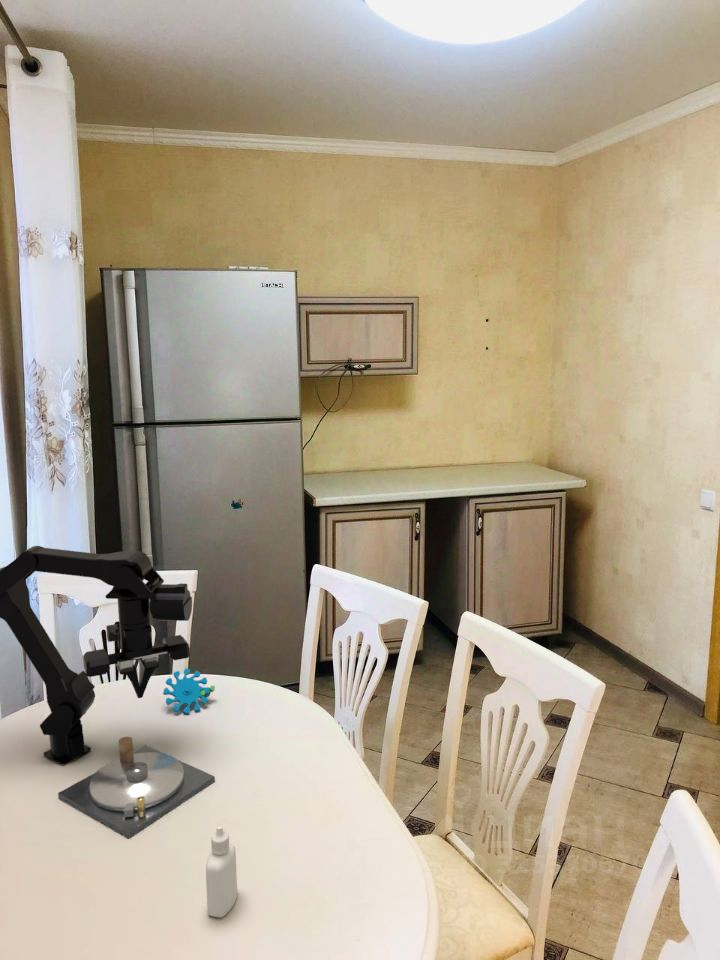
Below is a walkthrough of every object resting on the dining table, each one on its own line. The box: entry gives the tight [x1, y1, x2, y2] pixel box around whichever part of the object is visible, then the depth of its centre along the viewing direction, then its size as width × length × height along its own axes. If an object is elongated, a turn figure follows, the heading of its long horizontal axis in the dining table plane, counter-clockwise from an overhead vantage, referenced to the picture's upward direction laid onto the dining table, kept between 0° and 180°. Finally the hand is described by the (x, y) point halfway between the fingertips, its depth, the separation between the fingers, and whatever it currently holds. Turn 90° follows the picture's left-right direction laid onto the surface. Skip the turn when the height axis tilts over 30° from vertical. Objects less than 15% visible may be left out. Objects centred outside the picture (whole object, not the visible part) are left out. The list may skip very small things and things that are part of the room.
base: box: [57, 744, 216, 839], centre depth 129 cm, size 19×19×4 cm
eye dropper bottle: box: [205, 825, 238, 918], centre depth 101 cm, size 4×6×12 cm
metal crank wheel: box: [90, 736, 184, 817], centre depth 128 cm, size 16×18×5 cm
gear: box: [162, 668, 216, 715], centre depth 160 cm, size 11×6×10 cm
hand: (139, 697), depth 138 cm, fingers closed
